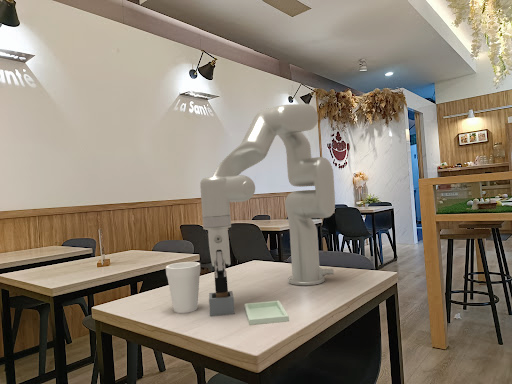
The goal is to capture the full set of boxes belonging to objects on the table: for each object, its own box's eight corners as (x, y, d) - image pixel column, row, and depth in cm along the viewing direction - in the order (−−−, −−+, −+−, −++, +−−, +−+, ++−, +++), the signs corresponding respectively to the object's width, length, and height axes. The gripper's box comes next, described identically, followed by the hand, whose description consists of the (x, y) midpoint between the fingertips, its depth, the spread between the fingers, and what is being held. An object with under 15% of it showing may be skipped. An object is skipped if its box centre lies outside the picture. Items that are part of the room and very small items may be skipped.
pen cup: (233, 308, 107) (232, 290, 107) (234, 316, 101) (233, 297, 101) (210, 311, 106) (209, 293, 106) (210, 318, 100) (209, 299, 100)
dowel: (228, 306, 106) (226, 270, 105) (229, 309, 102) (226, 272, 102) (216, 307, 105) (214, 271, 105) (217, 311, 102) (214, 273, 102)
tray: (244, 310, 105) (244, 303, 105) (279, 307, 106) (279, 300, 106) (249, 327, 91) (249, 319, 91) (289, 323, 93) (288, 316, 93)
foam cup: (171, 307, 112) (168, 263, 112) (203, 305, 112) (200, 260, 112) (166, 318, 102) (163, 269, 102) (201, 315, 103) (198, 267, 103)
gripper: (232, 224, 96) (237, 297, 96) (229, 219, 112) (233, 282, 112) (202, 226, 95) (207, 300, 95) (203, 221, 111) (208, 284, 111)
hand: (221, 289), depth 104 cm, fingers closed on dowel, 3 cm apart
